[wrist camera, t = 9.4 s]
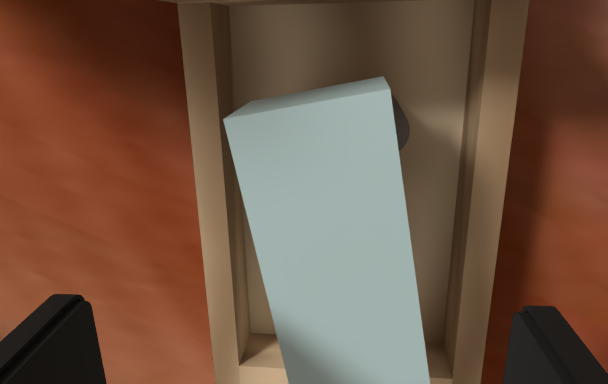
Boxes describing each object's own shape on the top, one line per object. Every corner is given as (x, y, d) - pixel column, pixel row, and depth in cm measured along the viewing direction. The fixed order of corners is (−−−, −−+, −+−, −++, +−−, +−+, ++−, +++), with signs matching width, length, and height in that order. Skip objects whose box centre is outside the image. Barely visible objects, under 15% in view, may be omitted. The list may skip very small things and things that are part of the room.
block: (251, 101, 16) (223, 119, 13) (383, 76, 15) (390, 89, 12) (306, 345, 19) (295, 411, 16) (419, 334, 18) (432, 401, 15)
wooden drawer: (234, 339, 25) (181, 469, 18) (204, -23, 19) (107, -58, 12) (461, 351, 24) (508, 498, 16) (503, -34, 18) (606, -80, 11)
